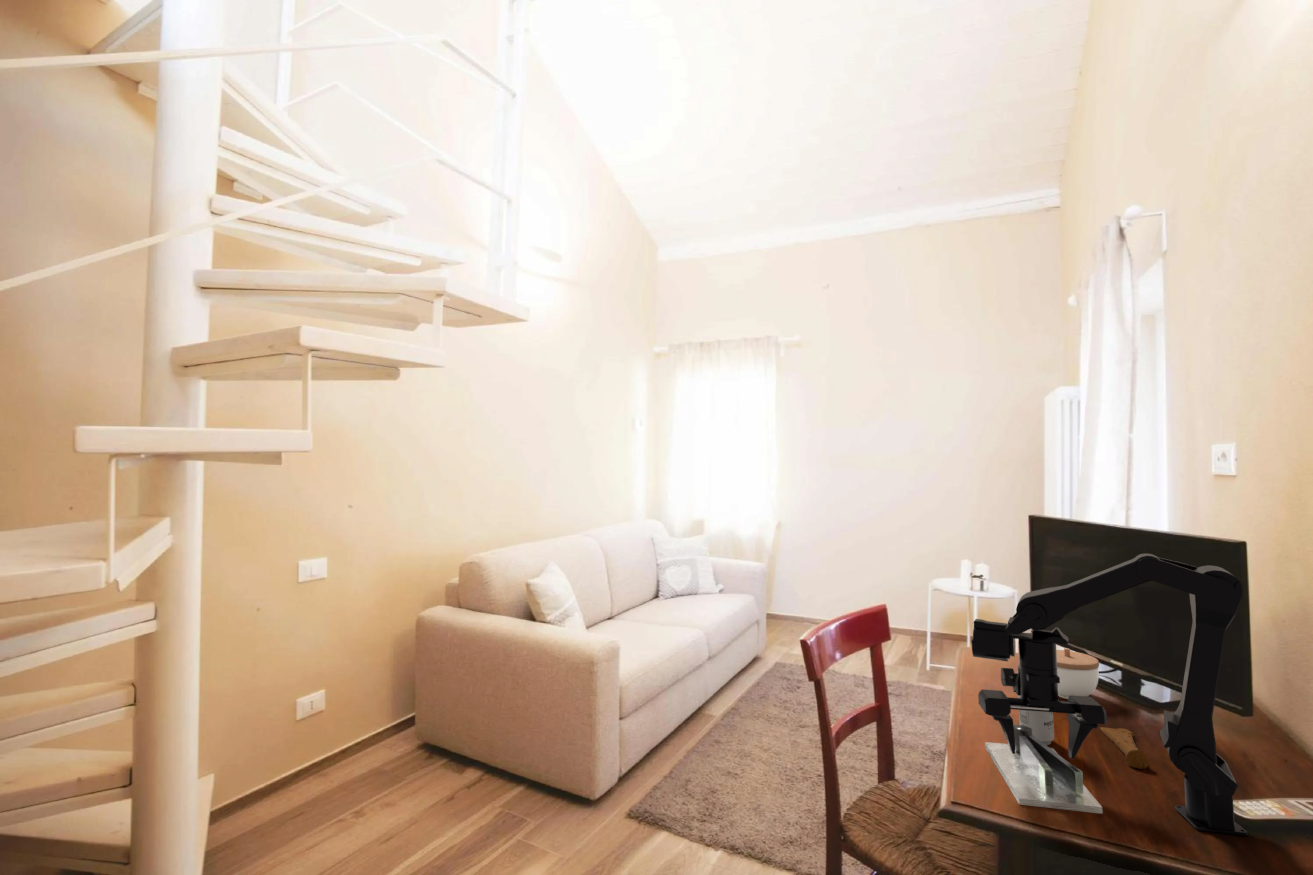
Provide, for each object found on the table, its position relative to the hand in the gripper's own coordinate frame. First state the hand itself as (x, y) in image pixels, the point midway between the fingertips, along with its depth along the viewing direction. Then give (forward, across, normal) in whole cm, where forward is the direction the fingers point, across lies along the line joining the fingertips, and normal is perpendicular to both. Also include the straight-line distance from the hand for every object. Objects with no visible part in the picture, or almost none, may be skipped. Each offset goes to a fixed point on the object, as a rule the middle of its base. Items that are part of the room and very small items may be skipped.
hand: (1041, 755), depth 111 cm
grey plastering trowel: (+5, 0, -2) cm, 5 cm away
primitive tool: (+6, -20, -20) cm, 29 cm away
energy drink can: (+5, -5, -20) cm, 21 cm away
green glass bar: (+4, -2, -2) cm, 5 cm away
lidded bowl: (+5, -21, -50) cm, 54 cm away
